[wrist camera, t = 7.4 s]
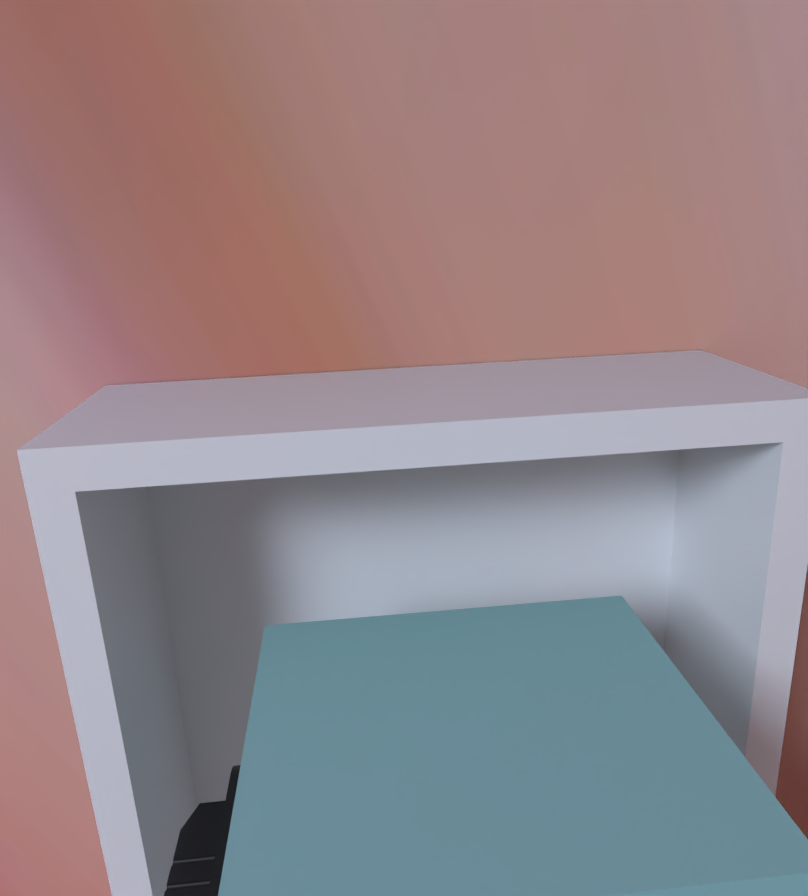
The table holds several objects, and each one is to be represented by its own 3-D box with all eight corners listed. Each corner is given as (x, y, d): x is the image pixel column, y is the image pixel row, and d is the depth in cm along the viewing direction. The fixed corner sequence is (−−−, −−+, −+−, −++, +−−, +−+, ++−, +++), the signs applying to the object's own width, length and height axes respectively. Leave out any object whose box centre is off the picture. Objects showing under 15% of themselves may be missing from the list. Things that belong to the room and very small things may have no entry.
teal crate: (264, 625, 12) (210, 941, 7) (621, 595, 12) (831, 870, 7) (296, 905, 14) (273, 1325, 9) (606, 870, 14) (764, 1250, 9)
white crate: (104, 385, 15) (17, 450, 11) (701, 350, 16) (830, 396, 11) (187, 865, 18) (145, 1049, 14) (662, 814, 19) (750, 973, 15)
